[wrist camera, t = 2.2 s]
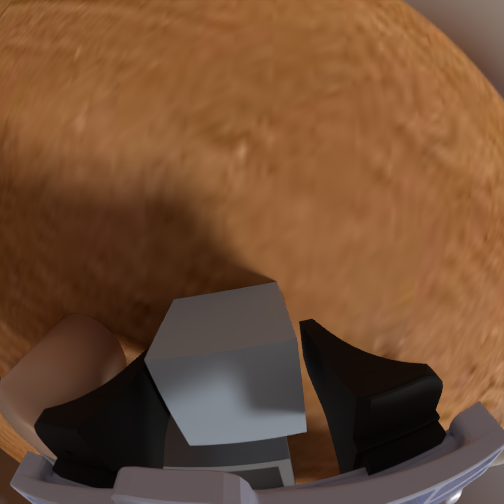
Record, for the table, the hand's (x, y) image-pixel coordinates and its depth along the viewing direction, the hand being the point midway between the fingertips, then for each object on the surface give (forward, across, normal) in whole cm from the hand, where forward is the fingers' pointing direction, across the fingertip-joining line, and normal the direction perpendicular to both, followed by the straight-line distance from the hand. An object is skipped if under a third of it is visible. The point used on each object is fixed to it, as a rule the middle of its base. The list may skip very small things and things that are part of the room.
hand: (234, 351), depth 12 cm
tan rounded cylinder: (+1, +9, 0) cm, 9 cm away
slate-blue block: (+2, 0, 0) cm, 2 cm away
